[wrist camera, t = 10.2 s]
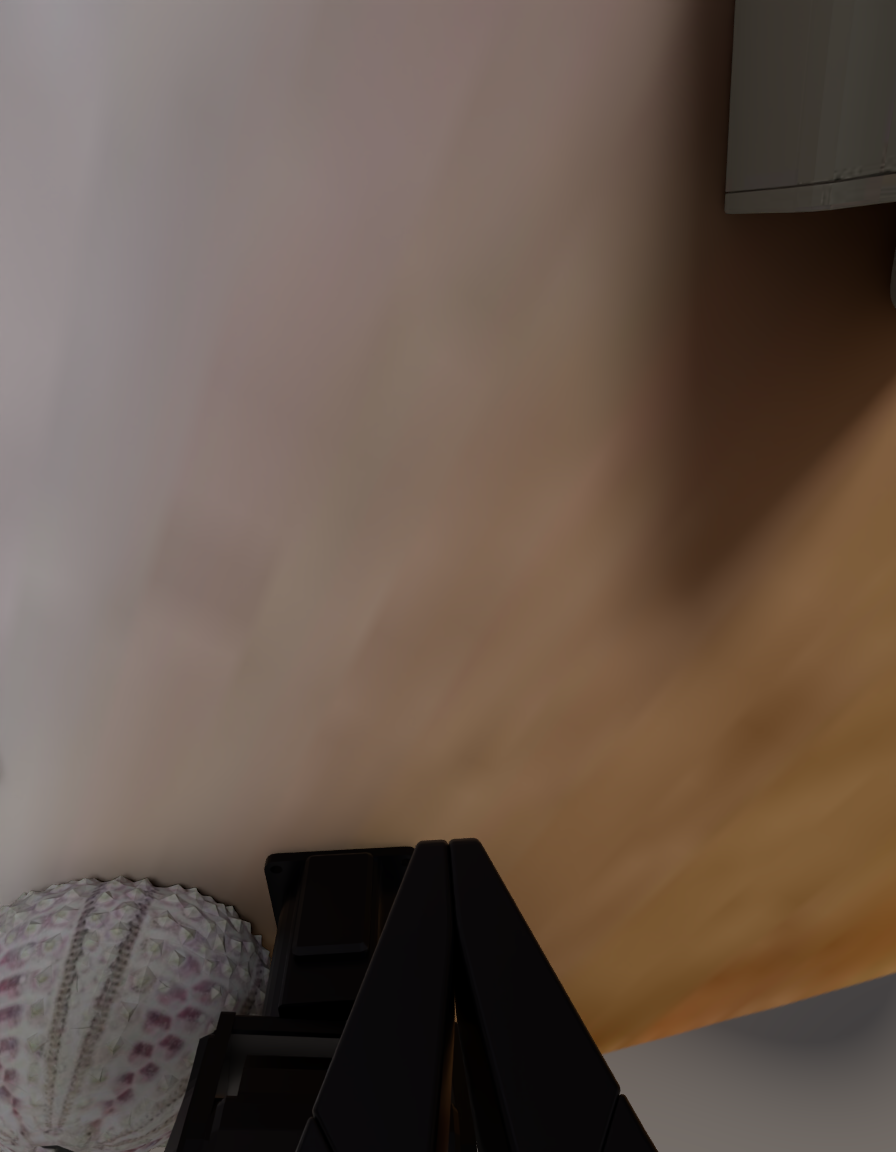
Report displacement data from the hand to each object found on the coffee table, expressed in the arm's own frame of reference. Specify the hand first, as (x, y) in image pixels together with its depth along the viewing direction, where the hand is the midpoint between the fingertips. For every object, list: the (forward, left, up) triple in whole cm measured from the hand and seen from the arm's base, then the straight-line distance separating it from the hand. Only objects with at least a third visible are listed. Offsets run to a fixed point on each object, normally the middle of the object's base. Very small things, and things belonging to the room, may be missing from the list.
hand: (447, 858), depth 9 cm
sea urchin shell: (-22, +14, -13) cm, 29 cm away
